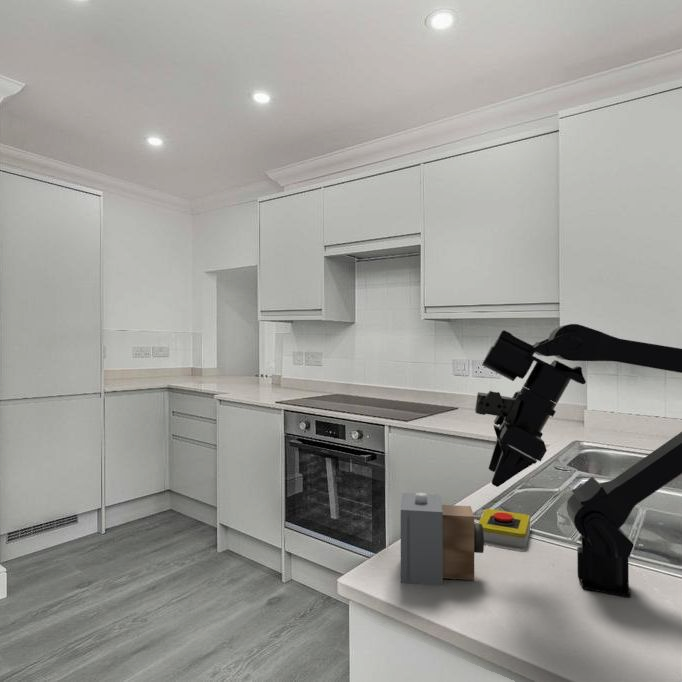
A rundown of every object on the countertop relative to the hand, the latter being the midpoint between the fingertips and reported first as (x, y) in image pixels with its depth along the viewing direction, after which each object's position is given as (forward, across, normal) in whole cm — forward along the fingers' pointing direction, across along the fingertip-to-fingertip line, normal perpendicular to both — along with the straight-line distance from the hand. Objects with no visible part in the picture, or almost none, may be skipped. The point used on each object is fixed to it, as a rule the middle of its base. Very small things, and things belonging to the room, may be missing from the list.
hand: (492, 477), depth 79 cm
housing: (+19, +3, -3) cm, 19 cm away
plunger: (+16, +2, +3) cm, 16 cm away
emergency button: (+13, -18, +10) cm, 24 cm away
